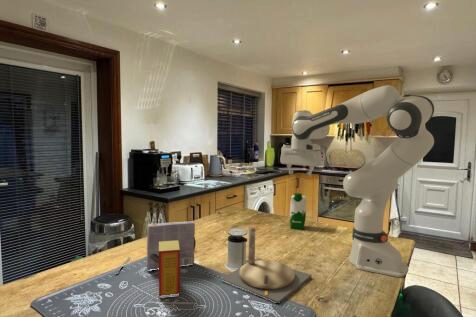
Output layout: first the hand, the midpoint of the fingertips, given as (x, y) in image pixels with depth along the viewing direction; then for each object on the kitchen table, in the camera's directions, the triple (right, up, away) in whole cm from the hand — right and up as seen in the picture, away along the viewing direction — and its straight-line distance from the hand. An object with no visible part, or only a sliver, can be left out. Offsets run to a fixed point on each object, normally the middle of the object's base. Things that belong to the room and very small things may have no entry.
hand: (299, 174), depth 148 cm
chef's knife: (-74, -36, -23) cm, 85 cm away
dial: (-19, -35, -34) cm, 52 cm away
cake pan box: (-56, -36, -24) cm, 70 cm away
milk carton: (+5, -32, +30) cm, 44 cm away
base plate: (-19, -37, -34) cm, 53 cm away
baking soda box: (-53, -37, -43) cm, 77 cm away
